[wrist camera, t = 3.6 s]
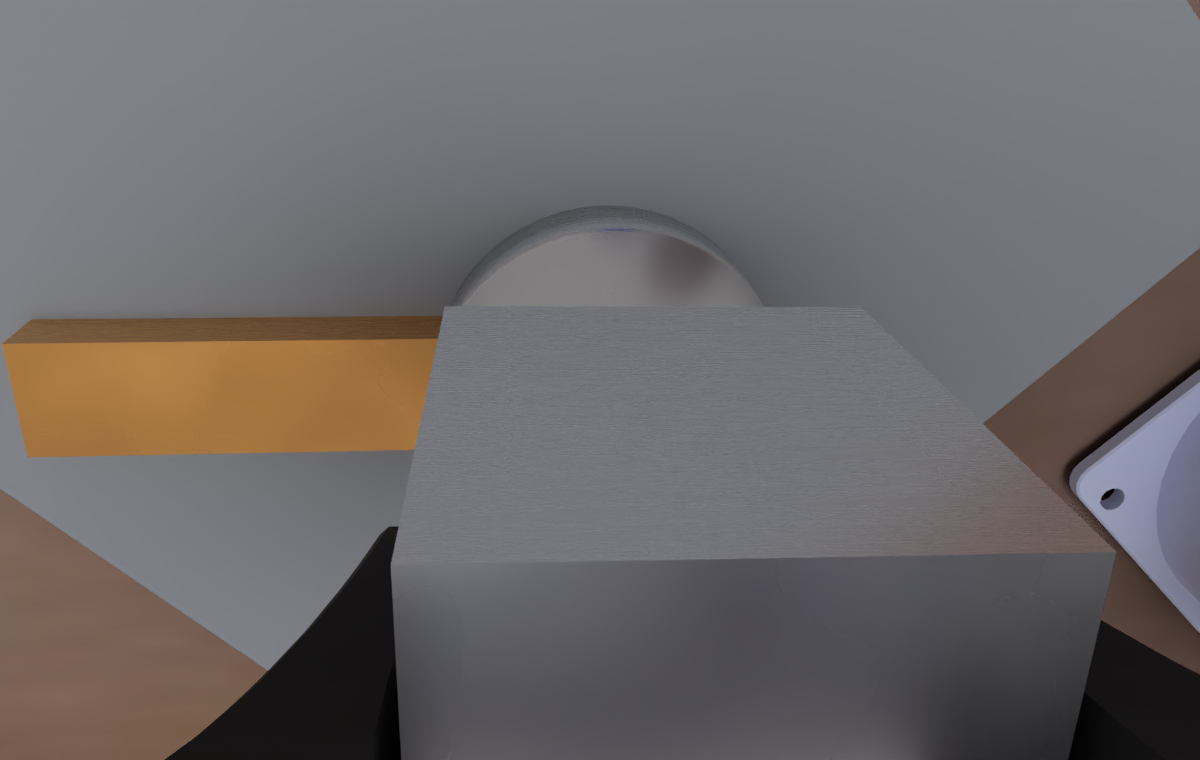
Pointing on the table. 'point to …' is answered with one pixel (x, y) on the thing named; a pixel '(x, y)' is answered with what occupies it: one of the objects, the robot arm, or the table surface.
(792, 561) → the brushed metal cube
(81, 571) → the table surface
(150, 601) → the table surface
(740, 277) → the scoop
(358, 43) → the mat
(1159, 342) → the table surface
